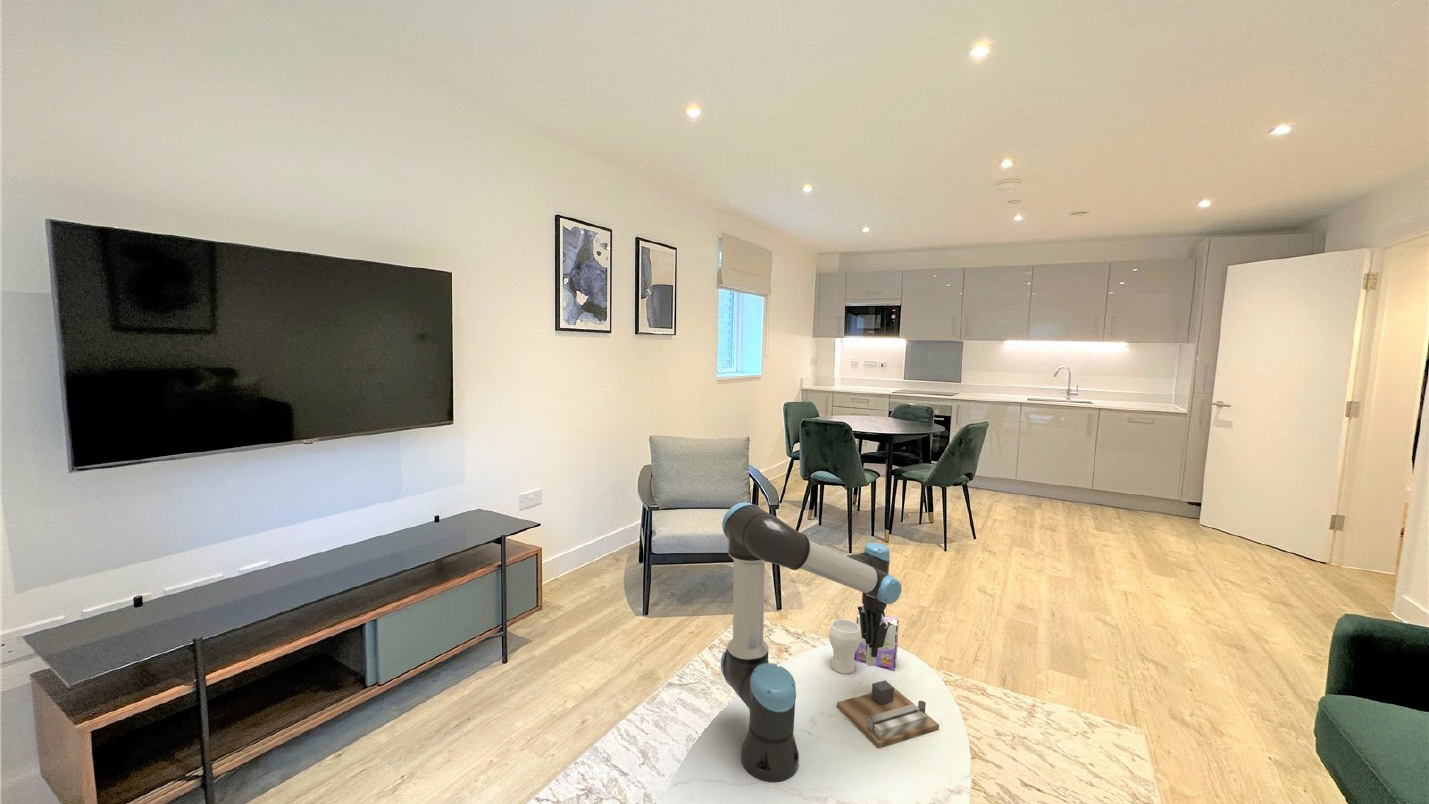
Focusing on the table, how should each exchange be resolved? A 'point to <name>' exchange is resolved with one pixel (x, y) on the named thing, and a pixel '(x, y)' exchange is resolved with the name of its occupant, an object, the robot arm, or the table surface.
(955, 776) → the table surface
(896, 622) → the candy box
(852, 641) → the cup
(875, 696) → the dark grey block
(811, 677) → the table surface
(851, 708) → the board
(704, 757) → the table surface
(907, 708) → the bar
